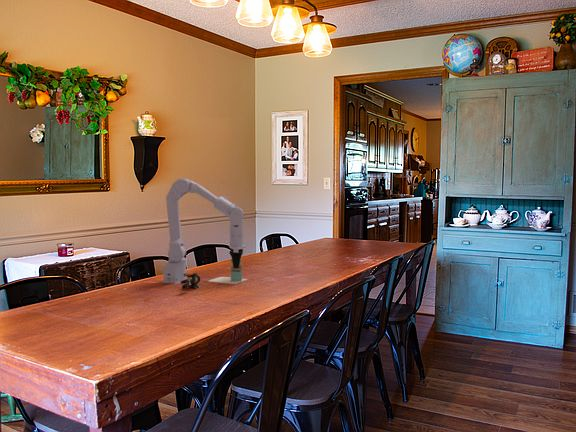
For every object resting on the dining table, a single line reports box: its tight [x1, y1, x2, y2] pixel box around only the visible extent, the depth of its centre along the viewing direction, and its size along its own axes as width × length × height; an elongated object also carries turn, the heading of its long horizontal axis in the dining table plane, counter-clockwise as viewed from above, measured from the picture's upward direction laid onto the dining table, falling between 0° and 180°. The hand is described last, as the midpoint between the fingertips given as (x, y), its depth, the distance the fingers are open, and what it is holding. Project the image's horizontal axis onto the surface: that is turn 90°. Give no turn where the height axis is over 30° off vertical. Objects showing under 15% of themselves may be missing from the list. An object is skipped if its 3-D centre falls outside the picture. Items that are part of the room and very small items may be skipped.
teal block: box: [230, 269, 243, 282], centre depth 213 cm, size 4×4×4 cm
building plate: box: [208, 276, 248, 285], centre depth 213 cm, size 11×14×1 cm
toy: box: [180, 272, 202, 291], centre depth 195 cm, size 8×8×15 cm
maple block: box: [230, 258, 243, 271], centre depth 213 cm, size 4×4×4 cm
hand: (236, 267), depth 213 cm, fingers closed on maple block, 4 cm apart
